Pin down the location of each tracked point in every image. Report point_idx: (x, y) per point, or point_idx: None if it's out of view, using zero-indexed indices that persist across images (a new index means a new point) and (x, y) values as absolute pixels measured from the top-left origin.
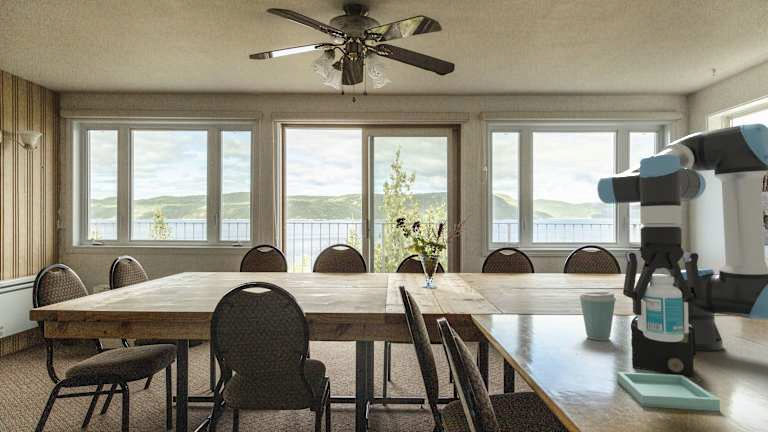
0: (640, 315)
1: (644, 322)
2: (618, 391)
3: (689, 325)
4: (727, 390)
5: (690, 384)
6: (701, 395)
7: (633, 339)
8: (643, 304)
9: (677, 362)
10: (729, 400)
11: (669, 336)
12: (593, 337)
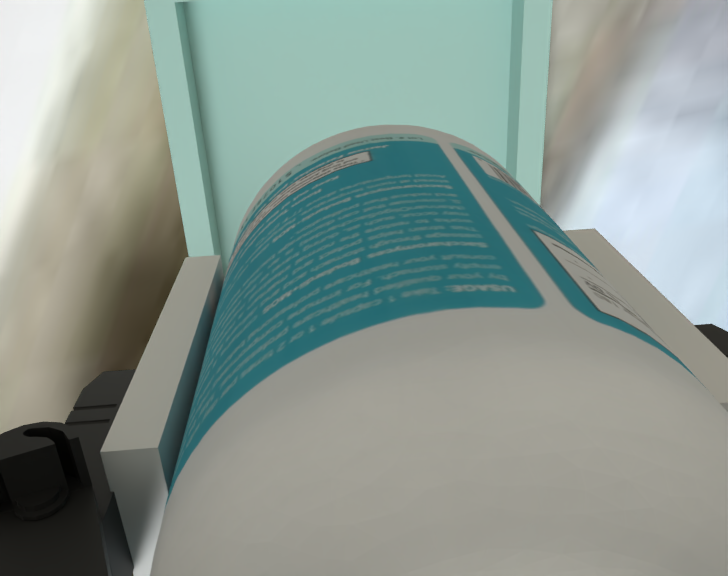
0: None
1: (611, 266)
2: (573, 148)
3: None
4: (16, 287)
5: (208, 212)
6: (194, 100)
7: None
8: (726, 373)
9: None
10: (51, 147)
11: (401, 128)
12: None
